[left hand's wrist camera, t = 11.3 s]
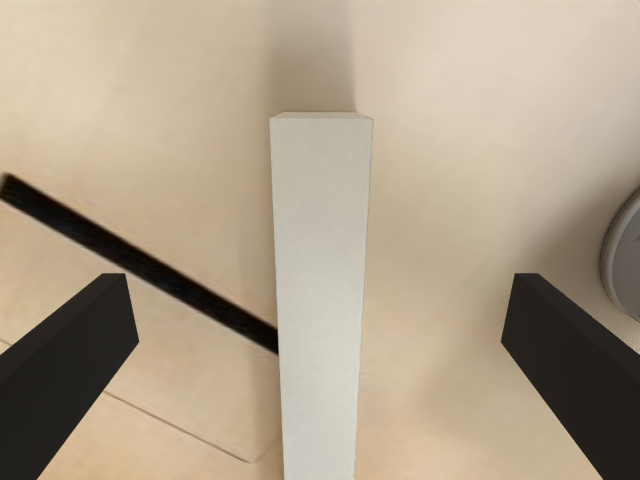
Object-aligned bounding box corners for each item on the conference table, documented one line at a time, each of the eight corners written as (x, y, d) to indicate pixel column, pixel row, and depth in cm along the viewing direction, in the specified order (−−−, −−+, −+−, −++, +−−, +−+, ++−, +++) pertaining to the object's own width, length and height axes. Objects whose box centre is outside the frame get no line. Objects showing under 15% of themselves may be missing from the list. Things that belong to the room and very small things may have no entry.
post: (283, 111, 27) (268, 117, 19) (356, 112, 27) (373, 118, 19) (297, 595, 48) (293, 695, 40) (338, 595, 48) (342, 695, 40)
